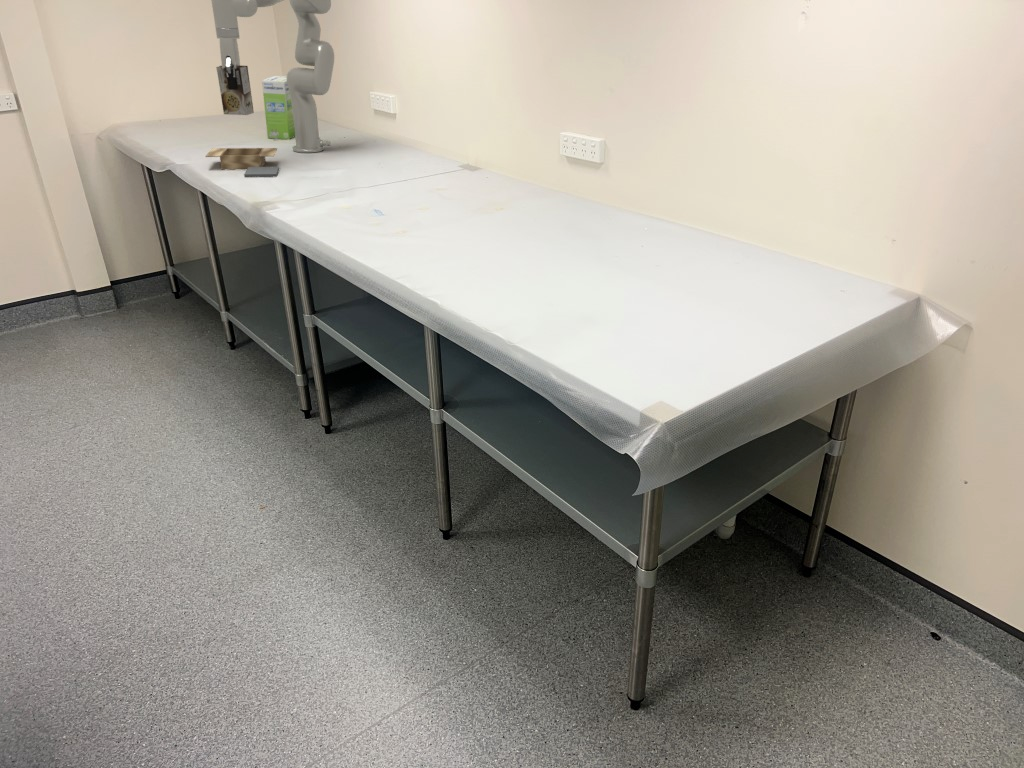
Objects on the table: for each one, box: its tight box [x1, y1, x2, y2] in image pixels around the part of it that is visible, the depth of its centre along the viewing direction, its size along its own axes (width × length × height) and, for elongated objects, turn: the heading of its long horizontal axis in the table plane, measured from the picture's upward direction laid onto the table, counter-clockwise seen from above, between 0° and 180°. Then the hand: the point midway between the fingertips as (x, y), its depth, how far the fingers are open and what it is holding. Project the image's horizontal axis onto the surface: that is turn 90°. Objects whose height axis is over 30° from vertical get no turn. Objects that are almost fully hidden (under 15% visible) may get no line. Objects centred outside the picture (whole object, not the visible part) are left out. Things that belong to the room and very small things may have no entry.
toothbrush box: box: [261, 75, 295, 140], centre depth 329 cm, size 18×10×24 cm, turn 178°
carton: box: [205, 147, 278, 170], centre depth 280 cm, size 24×14×5 cm, turn 100°
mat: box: [243, 166, 280, 178], centre depth 271 cm, size 11×12×1 cm
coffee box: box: [215, 64, 255, 116], centre depth 268 cm, size 9×6×16 cm
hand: (235, 87), depth 267 cm, fingers closed on coffee box, 7 cm apart
